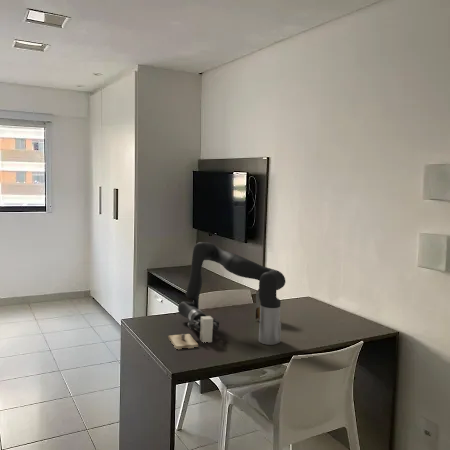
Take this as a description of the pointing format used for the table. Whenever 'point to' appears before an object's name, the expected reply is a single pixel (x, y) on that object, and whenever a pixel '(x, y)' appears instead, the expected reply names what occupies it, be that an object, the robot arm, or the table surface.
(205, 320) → the block
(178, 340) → the pin dock
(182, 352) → the table surface
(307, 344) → the table surface
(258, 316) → the coffee box
